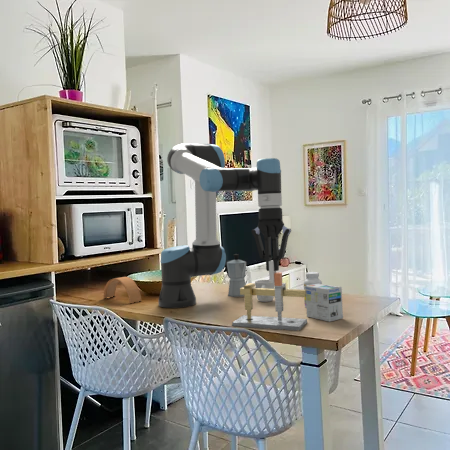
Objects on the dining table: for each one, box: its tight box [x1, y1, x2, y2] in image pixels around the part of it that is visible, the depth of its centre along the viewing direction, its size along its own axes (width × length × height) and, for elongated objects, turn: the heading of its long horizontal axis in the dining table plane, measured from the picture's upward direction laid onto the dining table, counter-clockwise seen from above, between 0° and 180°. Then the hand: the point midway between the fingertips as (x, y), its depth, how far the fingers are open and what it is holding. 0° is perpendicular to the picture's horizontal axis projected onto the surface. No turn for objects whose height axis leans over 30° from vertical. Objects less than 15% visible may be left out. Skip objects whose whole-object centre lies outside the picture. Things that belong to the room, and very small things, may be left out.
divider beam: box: [240, 282, 307, 319], centre depth 149 cm, size 22×5×11 cm, turn 66°
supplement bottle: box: [303, 271, 323, 308], centre depth 170 cm, size 7×7×13 cm
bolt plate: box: [231, 314, 308, 331], centre depth 148 cm, size 22×10×1 cm, turn 66°
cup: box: [254, 279, 275, 303], centre depth 184 cm, size 11×8×8 cm
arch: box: [103, 276, 142, 304], centre depth 200 cm, size 6×20×10 cm, turn 48°
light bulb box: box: [305, 283, 344, 322], centre depth 154 cm, size 11×7×11 cm, turn 35°
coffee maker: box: [224, 253, 247, 298], centre depth 201 cm, size 15×9×18 cm, turn 35°
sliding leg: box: [274, 271, 287, 321], centre depth 148 cm, size 2×6×15 cm, turn 156°
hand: (273, 281), depth 147 cm, fingers closed
